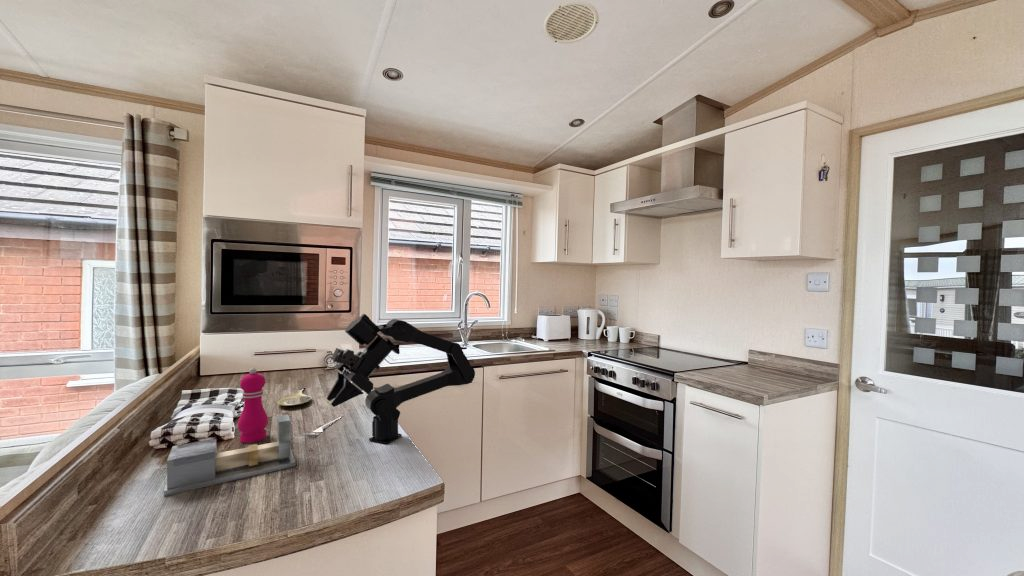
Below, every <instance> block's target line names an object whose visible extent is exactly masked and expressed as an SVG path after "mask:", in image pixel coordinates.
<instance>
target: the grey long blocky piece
mask: <svg viewBox="0 0 1024 576" xmlns="http://www.w3.org/2000/svg"><path fill="white" fill-rule="evenodd" d="M217 448H218V447H217V438H210V439H205V440H200V441H199V440H198V441H193V442H190V443H184V444H179V445H178V444H177V445H173V446H172V447H171V450H170V452H169V454H168V457H167V460H166V484H165V486H164V490H163V496H164V497H166V496H170V495H175V494H179V493H184V492H189V491H193V490H196V489H197V490H198V489H201V488H205V487H210V486H214V485H218V484H223V483H227V482H231V481H237V480H241V479H245V478H246V479H247V478H249V477H254V476H259V475H263V474H268V473H273V472H275V471H276V472H277V471H281V470H285V469H289V468H293V467H294V468H295V467H296V463H297V462H296V460H295V456H294V454H293V450H292V448H291V447H290V454H291V457H289V458H284V459H279V458H277V459H272V460H267V461H262V462H258V465H253V466H249V464H248V465H244V466H239V467H234V468H229V469H225V470H220V471H216V462H215V454H216V453H218V451H217Z"/></svg>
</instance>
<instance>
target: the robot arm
mask: <svg viewBox="0 0 1024 576" xmlns="http://www.w3.org/2000/svg"><path fill="white" fill-rule="evenodd" d="M344 332H345V333H346V334H347V335H348V336H350V337H351V338H352V339H353V340H354V341H355V342H356V343H358V345H360V346H363V345H366V347H365V348H364V350H363V351H358V352H357V353H355V350H351V349H349V348H347V349H345V350H344V349H341V348H337V347H336V348H335V350H334V352H333V354H332V357H331V360H332V361H333V362H335V363H338V364H337V365H336V366H335V369H337V370H336V371H335V372H336V381H335V382H334V384H333V386H332V388H331V390H330V391H329V393H328V395H327V397H326V400H327V401H329V402H330V401H332V402H331V404H330V405H331V406H332V407H333V408H334V407H337V406H339V405H342V404H344V403H345V402H347V401H350V400H352V399H354V398H356V397H358V396H361V395H364V392H365V394H367V395H366V397H365V401H364V403H365V406H366V408H367V409H368V410H370V412H371V413H372V414H373V415H375V416H373V417H372V422H371V425H372V427H371V429H372V430H371V431H372V433H371V434H372V437H369V439H368V441H370V442H375V443H379V444H380V443H381V444H385V445H388V444H390V443H392V442H394V441H396V440H397V439H399V438H401V437H402V436H403V435H402V433H399V418H400V416H401V411H399V409H397V408H398V407H399V406H400V405H401V404H403V403H405V402H408V401H410V400H413V399H417V398H418V397H421V396H423V395H427V394H430V393H432V392H435V391H438V390H441V389H443V388H445V387H451V386H452V387H455V386H457V387H459V386H464V385H468V384H471V383H473V381H474V379H475V376H476V370H475V368H474V367H473V366H472V365H471V363H470V361H469V359H468V358H467V356H466V355H465V353H464V351H463V349H462V346H461V345H460V344H459V343H458V342H454V341H450V340H446V339H444V338H441V337H439V336H436V335H432V334H429V333H426V332H425V331H421V330H420V329H418V328H417V327H415V326H414V325H412V324H410V323H408V322H407V321H406V320H402V319H397V318H393V319H391V320H389V321H388V322H387V323H385V324H378V325H377V324H375V322H373V321H372V320H371V319H370V317H369V316H368V315H367V314H366V313H362V314H361V315H360V316H359V317H357V318H355V320H353V321H351V322H350V323H349V324H348V326H347V327H346V328H345V331H344ZM381 335H383V336H386V337H385V338H383V337H382V336H381ZM390 339H392V340H394V341H398V342H405V343H413V344H419V345H423V346H425V347H428V348H431V349H433V350H437V351H440V352H442V353H445V354H446V357H447V358H446V359H447V363H448V366H447V367H446V368H445V369H444V370H442V371H441V372H440V373H436V374H433V375H430V376H428V377H425V378H422V379H418V380H416V381H413V382H410V383H407V384H404V385H401V386H398V387H394V386H392V385H390V383H385V384H383V385H381V386H378V387H377V386H375V387H374V383H373V382H372V381H371V380H370V378H369V377H370V376H371V375H372V374H373V372H374V371H375V370H378V371H379V369H380V368H381V364H382V362H384V361H385V359H386V358H387V357H388V355H390V353H392V352H393V353H395V354H397V355H399V354H400V353H401V352H400V344H399V343H394V342H393V341H392V340H390Z"/></svg>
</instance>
